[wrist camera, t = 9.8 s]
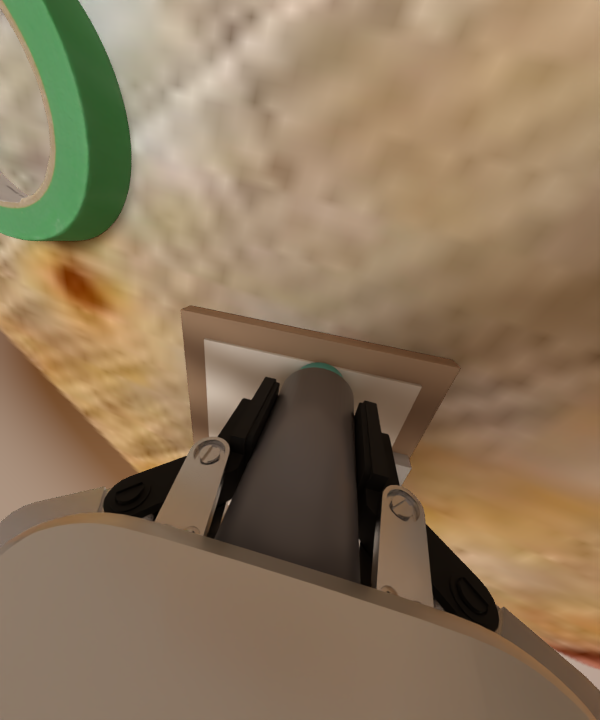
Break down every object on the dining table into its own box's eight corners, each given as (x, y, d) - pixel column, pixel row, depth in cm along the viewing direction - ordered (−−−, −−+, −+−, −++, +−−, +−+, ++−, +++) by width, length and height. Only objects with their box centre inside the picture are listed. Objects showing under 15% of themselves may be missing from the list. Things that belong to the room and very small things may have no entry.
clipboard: (190, 305, 14) (169, 314, 13) (453, 360, 13) (469, 378, 11) (205, 493, 24) (194, 513, 22) (358, 536, 23) (359, 560, 21)
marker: (291, 346, 13) (71, 764, 3) (362, 363, 13) (428, 915, 2) (282, 402, 15) (135, 767, 5) (344, 417, 15) (335, 849, 4)
